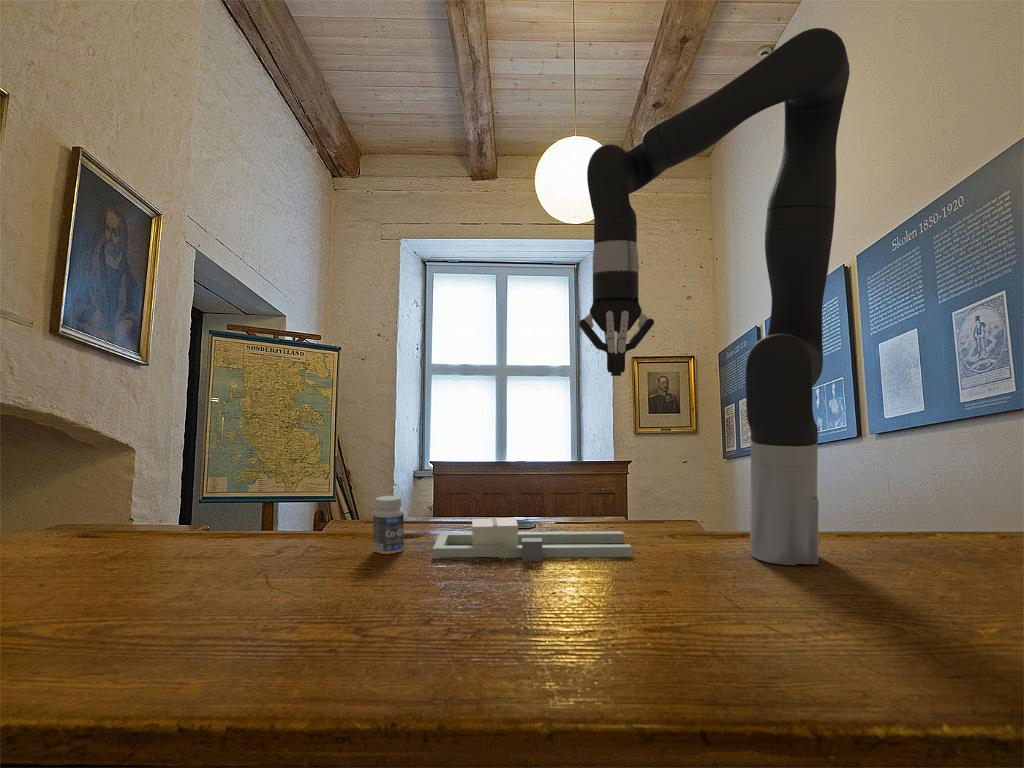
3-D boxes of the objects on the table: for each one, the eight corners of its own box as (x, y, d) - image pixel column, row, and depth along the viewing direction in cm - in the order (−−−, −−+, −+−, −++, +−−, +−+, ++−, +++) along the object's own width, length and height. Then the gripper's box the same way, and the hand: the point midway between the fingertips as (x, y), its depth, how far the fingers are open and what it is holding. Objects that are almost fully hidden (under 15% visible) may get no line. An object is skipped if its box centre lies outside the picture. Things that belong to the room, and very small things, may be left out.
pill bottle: (388, 556, 104) (387, 502, 103) (367, 551, 107) (366, 498, 106) (410, 549, 108) (409, 497, 107) (389, 544, 110) (389, 493, 110)
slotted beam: (622, 540, 112) (622, 522, 111) (633, 560, 100) (633, 540, 100) (440, 541, 112) (439, 523, 112) (431, 562, 101) (430, 542, 101)
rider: (515, 545, 110) (515, 517, 110) (518, 554, 105) (518, 524, 105) (472, 546, 109) (472, 518, 109) (473, 555, 104) (472, 526, 104)
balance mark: (504, 532, 112) (504, 531, 112) (502, 548, 103) (502, 546, 103) (496, 532, 112) (496, 531, 112) (494, 548, 103) (494, 546, 103)
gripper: (651, 273, 116) (651, 374, 117) (573, 274, 116) (574, 375, 117) (660, 268, 109) (660, 376, 110) (577, 269, 109) (578, 376, 110)
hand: (615, 375), depth 113 cm, fingers closed
